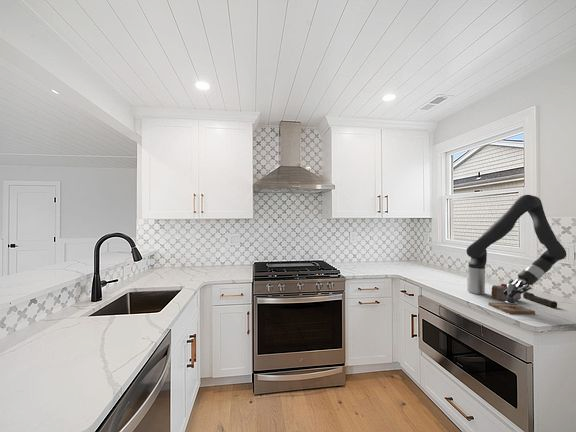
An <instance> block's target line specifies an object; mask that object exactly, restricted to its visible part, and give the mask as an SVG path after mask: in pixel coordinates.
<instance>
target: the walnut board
mask: <svg viewBox="0 0 576 432" xmlns="http://www.w3.org/2000/svg"><path fill="white" fill-rule="evenodd" d="M488 306H490V307H491V308H492V307H493V308H495V309H497V310H498V311H499V310H500V311H502V312H504V313H506V314H508V313H509V315H536V310H533V309H531V308H527V307H524V306H523V305H519V304H518V305H509V304H506V303H505V302H494V301H493V302H490V301H489V302H488Z"/></svg>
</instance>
